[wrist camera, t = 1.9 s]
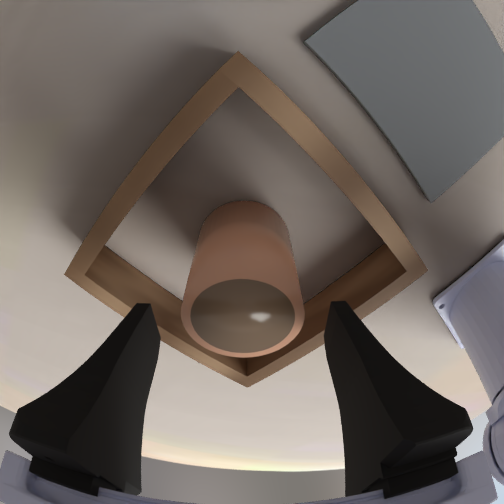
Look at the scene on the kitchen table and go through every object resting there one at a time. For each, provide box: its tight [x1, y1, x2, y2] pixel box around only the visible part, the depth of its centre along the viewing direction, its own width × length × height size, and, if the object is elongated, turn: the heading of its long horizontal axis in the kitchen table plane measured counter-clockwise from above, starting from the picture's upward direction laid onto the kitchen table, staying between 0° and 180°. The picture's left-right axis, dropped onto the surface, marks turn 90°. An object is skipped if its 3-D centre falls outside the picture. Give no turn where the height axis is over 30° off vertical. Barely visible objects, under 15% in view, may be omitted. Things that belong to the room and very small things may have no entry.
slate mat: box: [303, 0, 504, 203], centre depth 12 cm, size 11×10×1 cm
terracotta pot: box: [181, 201, 305, 358], centre depth 15 cm, size 5×5×6 cm
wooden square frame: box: [64, 51, 428, 387], centre depth 16 cm, size 14×14×3 cm
